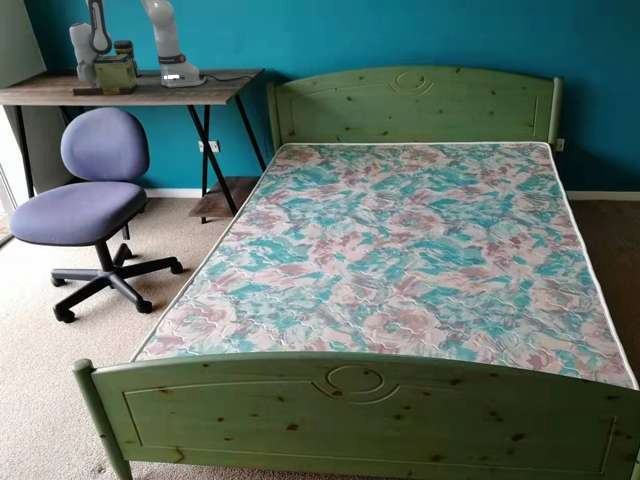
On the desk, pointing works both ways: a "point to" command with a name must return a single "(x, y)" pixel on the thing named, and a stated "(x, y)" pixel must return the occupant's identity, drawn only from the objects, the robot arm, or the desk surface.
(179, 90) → the desk surface
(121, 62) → the protein box
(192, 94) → the desk surface
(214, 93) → the desk surface
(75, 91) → the guide rail
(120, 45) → the coffee jar
